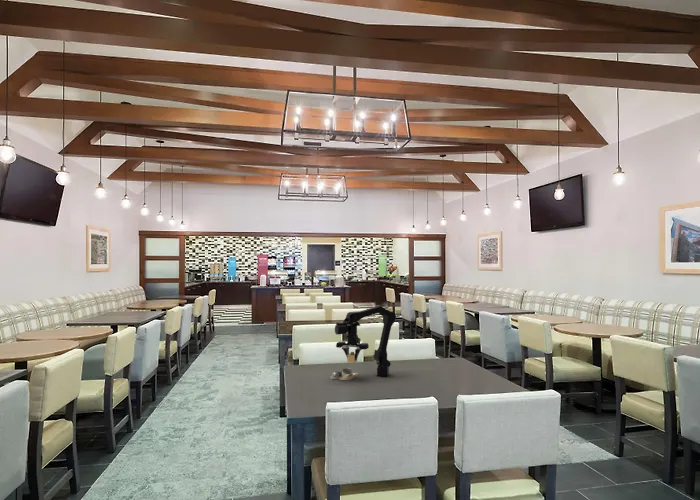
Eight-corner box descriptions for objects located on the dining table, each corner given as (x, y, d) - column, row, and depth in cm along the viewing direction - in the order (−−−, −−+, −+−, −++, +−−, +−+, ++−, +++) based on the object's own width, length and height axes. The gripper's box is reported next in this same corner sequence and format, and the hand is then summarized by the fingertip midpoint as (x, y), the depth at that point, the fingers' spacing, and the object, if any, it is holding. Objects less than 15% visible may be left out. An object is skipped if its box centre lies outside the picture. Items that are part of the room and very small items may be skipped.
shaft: (336, 375, 258) (336, 370, 258) (342, 376, 255) (342, 371, 255) (329, 376, 254) (329, 371, 255) (335, 378, 251) (335, 373, 251)
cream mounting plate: (358, 374, 265) (358, 367, 265) (348, 380, 250) (348, 373, 250) (341, 372, 269) (341, 366, 270) (330, 378, 255) (330, 371, 255)
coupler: (357, 361, 255) (357, 351, 255) (354, 362, 251) (354, 353, 251) (350, 360, 257) (350, 351, 257) (347, 362, 252) (347, 352, 253)
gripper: (371, 332, 259) (371, 358, 258) (343, 330, 265) (343, 356, 265) (365, 335, 248) (365, 362, 247) (335, 333, 255) (335, 359, 254)
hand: (352, 360), depth 254 cm, fingers closed on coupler, 4 cm apart
